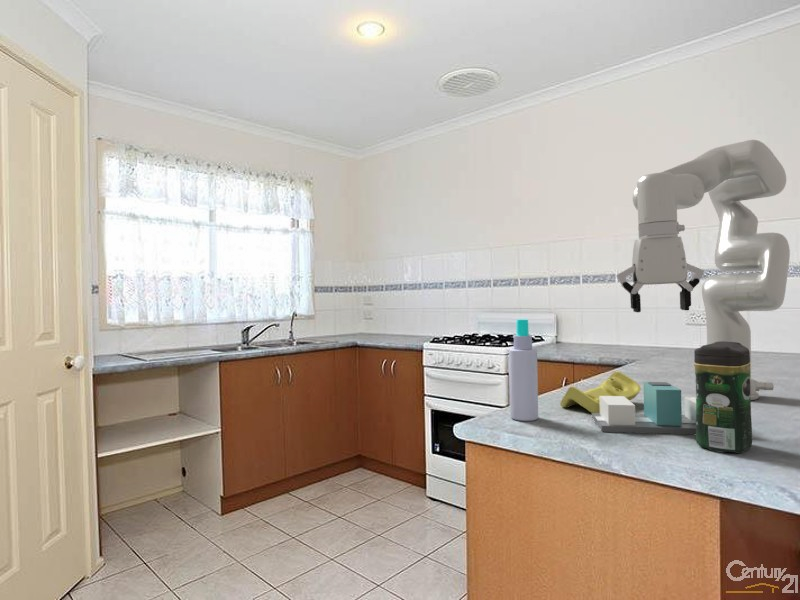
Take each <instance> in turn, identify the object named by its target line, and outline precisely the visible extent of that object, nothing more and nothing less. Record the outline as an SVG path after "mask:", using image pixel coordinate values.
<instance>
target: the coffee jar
mask: <svg viewBox="0 0 800 600" xmlns="http://www.w3.org/2000/svg"><path fill="white" fill-rule="evenodd" d="M693 354H694V358H693V359H694V363H693V364H694V373H695V374H694V375H695V397H696V435H695V440H696V441H695V442H696V444H697V446H699V447H702V448H705V449H708V450H710V451H714V452H718V453H736V454H737V453H738V454H739V453H742V452H743V453H744V452H745V451H747V450H749V448H750V447H751V446H752V444H753V429H752V428H753V427H752V403H751V402H752V400H751V397H750V353H749V349H748V348H746V347H745V346H743V345H741V344H740V343H737V342H725V341H719V342H715V343H712V344H708V345H707V344H705V345H701V346H700V347H698V348H694V353H693Z"/></svg>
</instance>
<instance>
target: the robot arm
mask: <svg viewBox="0 0 800 600" xmlns="http://www.w3.org/2000/svg"><path fill="white" fill-rule="evenodd" d="M786 185H787V174H786V171H785V168H784V167H783V164H782V163H781V162H780V161H779V160H778V158H777V156H776V155H775V154H774V152H773V151H772V150H771V149H770V148H769V147H768V145H766V144H765V143H764V142H762V141H761V140H757V139H749V140H744V141H739V142H735V143H731V144H726V145H721V146H718V147H714V148H712V149H709V150H707V151H705V152H704V153H702V154H700V155H698V156H697V157H695V158H693V159H691V160H690V161H687V162H684V163H681V164H679V165H677V166H674V167H672V168H669V169H667V170H666V169H665V170H664V171H660V172H654V173H653V172H652V173H649V174H645V175H643V176H640V177H639V179H637V182H636V187H635V189H634V190H633V193H632V204H633V205H634V208H635V209H636V210H637V223H638V226H637V227H638V239H634V241H633V242H634V243H633V248H632V258H631V259H632V261H631V266H630V267H628V268H626V269H625V270H623V271H621V272H619V273H617V274H616V279H617V280H618V282H619V283H620V285H621V287H622V288H624V290H625V291H627V292H628V293H629V294H630V296H629V297H630V308H631V309H632V310H633V312H634V313H641V311H642V309H641V307H642V306H641V305H642V304H641V294H640V293H639V291H640V290H641V288H643V286H644V285H647V286H649V285H669V284H671V285H672V284H675V285H677V286H678V287H679V288H680V289H681V291H680V292H679V309H680V310H682V311H689V310H690V307H691V306H692V294H691V293H692V292H693V291H694V289H695V287H697V286H698V285H699V283H700V281H701V279H702V277H703V275H704V273H705V271H704V269H702V268H699V267H697V266H696V265H692V264H689V263H687V257H686V256H687V255H686V252H685V246H684V243H683V239H682V236H679V234H680V233H681V232H684V231H685V229H686V227H685V225H684V224H679V221H678V210H684V209H689V208H693V207H695V206H696V205H698V204H699V203H701V201H702V200H703V199H704V195H705V194H706V193H708V195H709V198H710V201H711V203H712V206H713V208H714V211H715V212H716V214H717V217H718V220H719V224H718V226H719V227H718V231H717V239H716V244H715V245H716V246H715V252H714V264H715V266H716V268H717V269H718V270H720V271H723V272H730V273H719V274H716V275H711V276H709V277H708V278H706V279H705V280H704V282H703V283H702V286H701V296H702V301H703V307H704V312H705V319H706V320H705V321H706V323H705V324H706V345H708V344H712V343H715V342H719V341H725V342H737V343H740V344H741V345H743V346H745V347H746V348H748V349H749V353H750V397H751V401H754V400H758V399H759V398H760V394H759V391H762V390H764V391H773V390H774V388H775V387H774V383H773V382H766V381H765V382H762V381H757V380H756V379H754V378H752V345H751V344H752V343H751V341H752V339H751V338H752V337H751V333H752V331H751V327H750V325H749V323H748V321H747V320H746V318H744V316H743V315H742V314H741V313H740V312H771V311H772V312H773V311H775V310H778V309H780V308H782V305H783V304H784V301H785V296H786V295H785V294H786V289H787V283H788V275H789V266H790V257H791V249H790V244H789V242H788V239H787V238H786V236H785V235H784V234H781V233H779V232H761V233H758V232H757V231H758V225H759V221H758V217H757V216H756V215H755V213H754V212H753V211H752V210H751V209H750V208H749V207H747V206H745V205H744V204H743V203H742V202H741V201H749V200H755V199H762V198H770V197H773V196H777V195H779V194H780V193H782V192H783V191H784V189H785V187H786ZM688 272H689V273H691V274H693V275H692V278H691V279H690V280H689V281H688V280H687V279H688ZM629 275H631V280H632V283H633V284H630V283H629V282H628V280H627V279H626V278H627V277H628V276H629Z"/></svg>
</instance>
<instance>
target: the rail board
mask: <svg viewBox="0 0 800 600" xmlns="http://www.w3.org/2000/svg"><path fill="white" fill-rule="evenodd" d="M599 401H600V413H591V419H592V418H593V419H594V421H595V422H596V423H595V422H594V421H593V422H594V423H595V425H596V424H597V425H598V426H597V425H596V426H597V428H598V429H599V428H600V429H601V430H600V429H599V430H600V432H601V431H604V432H603V433H623V432H635V433H634V434H657V433H671V434H670V435H691V434H696V396H694V397H692V396H689V397H688V396H685V397H684V414H682V426H667V425H656V424H655V423H654V422H652V421H651V420H650V419H649V418H648V417H647V416H645V415H644V413H636V405H635V404H634V403H633V402H632V401H631V400H628V399H627V398H626V397H624V396H599ZM593 419H592V420H593ZM636 432H637V433H636ZM672 433H673V434H672Z"/></svg>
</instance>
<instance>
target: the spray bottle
mask: <svg viewBox="0 0 800 600" xmlns="http://www.w3.org/2000/svg"><path fill="white" fill-rule="evenodd" d="M532 339H533V338H532V335H531V334H529V319H525V318H523V319H519V318H518V319H516V335H515V334H514V335H513V347H510V348H508V349H509V350H508V355H509V356H508V358H509V359H508V363H509V366H508V367H509V402H510V403H509V412H510V413H509V415H510V416H509V417H510V418H511V419H513V420H514V421H519V422H532V421H536V420H538V418H539V390H538V389H539V388H538V387H539V386H538V385H539V384H538V378H539V377H538V376H539V375H538V349H537V348H535V347H533V340H532Z"/></svg>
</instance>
